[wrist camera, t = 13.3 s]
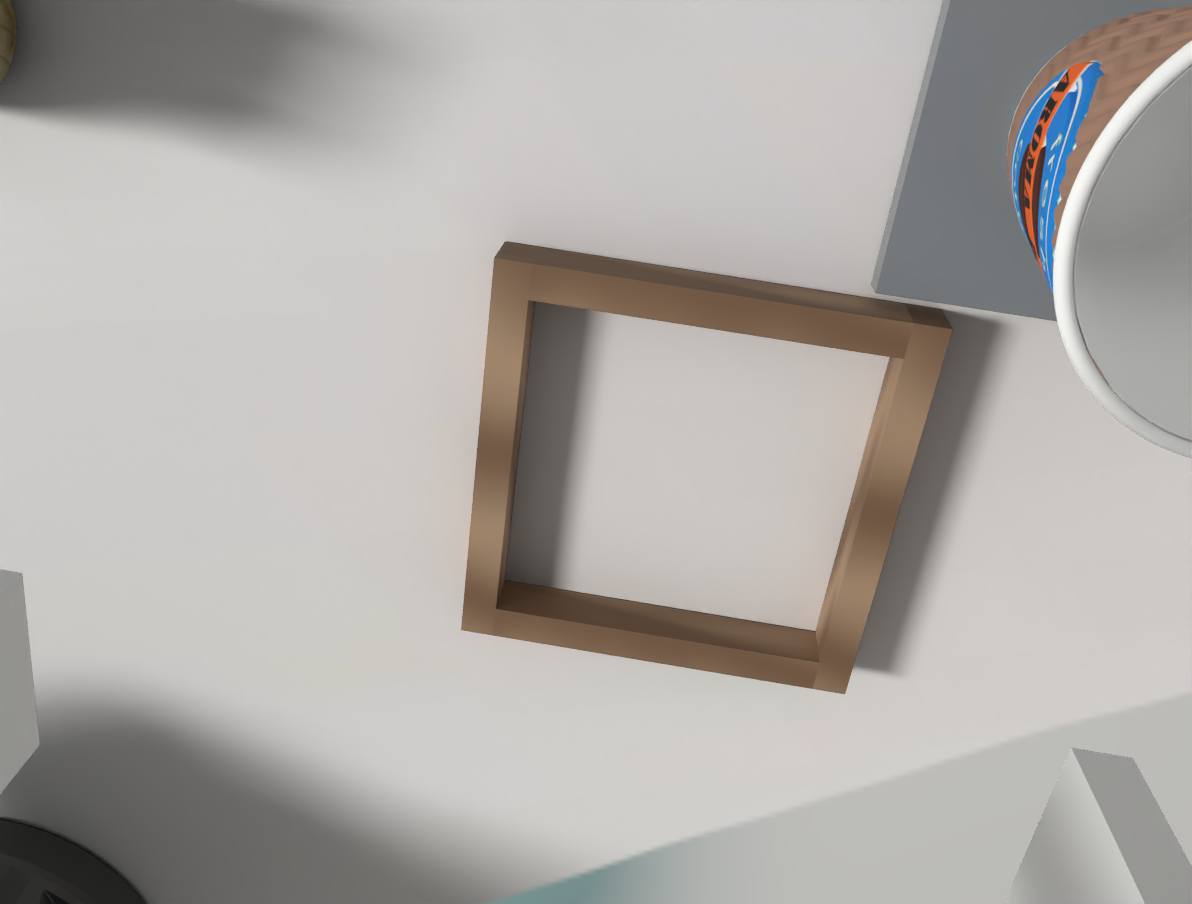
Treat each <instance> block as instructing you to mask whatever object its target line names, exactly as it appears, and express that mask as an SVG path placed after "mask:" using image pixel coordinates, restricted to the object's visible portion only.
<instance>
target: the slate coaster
mask: <svg viewBox="0 0 1192 904" xmlns="http://www.w3.org/2000/svg"><path fill="white" fill-rule="evenodd" d="M1190 5H1192V0H943V4H942V8H941V12H940V16H939V20H938V24H937V27H936V31H935V35H934V39H933V43H932V47H931V51H930V55H929V59H928V63H927V67H926V71H925V75H924V79H923V83H922V86H921V90H920V94H919V98H918V102H917V106H916V110H915V114H914V118H913V122H912V126H911V130H910V134H909V138H908V142H907V145H906V149H905V153H904V157H903V161H902V165H901V169H900V173H899V177H898V181H897V185H896V189H895V193H894V197H893V201H892V205H891V208H890V212H889V216H888V220H887V224H886V228H885V232H884V236H883V240H882V244H881V248H880V252H879V256H878V260H877V264H876V267H875V271H874V275H873V279H872V283H871V284H872V287H873V289H874V291H875V293H878V294H885V295H891V296H898V297H904V298H911V299H917V300H924V301H930V302H936V303H943V304H949V305H956V306H962V307H969V308H975V309H981V310H988V311H994V312H1001V313H1007V314H1014V315H1020V316H1027V317H1033V318H1039V319H1046V320H1052V321H1057V318H1056V312H1055V305H1054V296H1053V294H1052V292H1051V290H1050V288H1049V285H1048V283H1047V281H1046V279H1045V277H1044V275H1043V273H1042V271H1041V269H1040V266H1039V264H1038V262H1037V260H1036V258H1035V256H1034V254H1033V252H1032V250H1031V248H1030V245H1029V243H1028V241H1027V239H1026V237H1025V235H1024V232H1023V230H1022V228H1021V225H1020V223H1019V220H1018V217H1017V213H1016V210H1015V205H1014V202H1013V200H1012V197H1011V195H1010V184H1009V181H1008V179H1007V172H1008V167H1007V161H1006V157H1007V146H1008V136H1009V131H1010V127H1011V124H1012V120H1013V117H1014V114H1015V110H1016V108H1017V106H1018V104H1019V102H1020V100H1021V98H1022V96H1023V94H1024V92H1025V90H1026V88H1027V87H1028V86H1029V84H1030V83H1031V82H1032V80H1033V79H1034V78H1035V76H1036V75H1037V74H1038V72H1039V71H1040V69H1041V68H1042V67H1043V66H1044V65H1045V64H1046V63H1047V62H1048V61H1049V60H1050V59H1051V58H1052V57H1053V56H1055V55H1056V54H1057V53H1058V52H1059V51H1060V50H1061V49H1062V48H1064V47H1065V46H1067V45H1068V44H1070V43H1071V42H1073V41H1074V40H1076V39H1077V38H1078V37H1080V36H1081V35H1083V34H1085V33H1088V32H1089V31H1090V30H1092V29H1094V28H1096V27H1099V26H1102V25H1105V24H1106V23H1107V22H1109V21H1111V20H1113V19H1117V18H1126V17H1127V16H1128V15H1129V14H1132V13H1137V12H1147V11H1149V10H1155V9H1168V8H1175V7H1182V6H1190Z"/></svg>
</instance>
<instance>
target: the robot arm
mask: <svg viewBox="0 0 1192 904" xmlns="http://www.w3.org/2000/svg"><path fill="white" fill-rule="evenodd" d="M39 745H40V742H39V733H38V723H37V713H36V703H35V694H34V684H33V674H32V664H31V654H30V645H29V635H28V625H27V615H26V606H25V596H24V586H23V576H22V573H18V572H12V571H6V570H0V794H1V793H2V791H3V790H4V789H5V788H6V786H7V785H8V784H9V783H10V781H11V780H12V779H13V778H14V776H15V775H16V774H17V773H18V772H19V770H20V769H21V768H22V767H23V765H24V764H25V763H26V762H27V760H28V759H29V758H30V757H31V755H32V754H33V753H34V752H35V750H36V749H37V748H38V747H39ZM0 904H144V902H143V901H142V900H141V898H140V897H139V896H138V895H137V894H136V892H135V891H134V890H133V889H132V888H131V887H130V886H129V885H128V884H127V883H126V882H125V881H124V880H123V879H122V878H121V877H120V876H119V875H118V874H116V873H115V872H114V871H113V870H112V869H110V868H109V867H108V866H106V865H105V864H104V863H103V862H101V861H100V860H98V859H97V858H95V857H94V856H92V855H91V854H89V853H87V852H86V851H84V850H82V849H81V848H79V847H77V846H75V845H73V844H71V843H69V842H67V841H65V840H63V839H61V838H59V837H56V836H54V835H52V834H49V833H47V832H44V831H41V830H38V829H35V828H32V827H29V826H26V825H22V824H18V823H14V822H9V821H4V820H0ZM1004 904H1192V866H1191V864H1190V863H1189V861H1188V859H1187V857H1186V855H1185V853H1184V852H1183V850H1182V848H1181V846H1180V844H1179V842H1178V840H1177V838H1176V837H1175V835H1174V833H1173V831H1172V830H1171V827H1170V826H1169V824H1168V822H1167V820H1166V818H1165V816H1164V814H1163V813H1162V811H1161V809H1160V807H1159V805H1158V804H1157V801H1156V800H1155V798H1154V796H1153V794H1152V792H1151V790H1150V789H1149V787H1148V785H1147V783H1146V781H1145V779H1144V778H1143V776H1142V774H1141V772H1140V770H1139V768H1138V767H1137V765H1136V763H1135V761H1134V759H1133V758H1130V757H1124V756H1117V755H1111V754H1106V753H1099V752H1093V751H1088V750H1081V749H1076V748H1071V750H1070V752H1069V754H1068V757H1067V759H1066V761H1065V764H1064V766H1063V768H1062V771H1061V773H1060V775H1059V777H1058V780H1057V782H1056V785H1055V787H1054V789H1053V791H1052V794H1051V796H1050V798H1049V800H1048V803H1047V805H1046V807H1045V810H1044V812H1043V814H1042V817H1041V819H1040V821H1039V824H1038V826H1037V828H1036V831H1035V833H1034V835H1033V838H1032V840H1031V842H1030V844H1029V847H1028V849H1027V851H1026V854H1025V856H1024V858H1023V860H1022V863H1021V865H1020V867H1019V870H1018V872H1017V874H1016V877H1015V879H1014V881H1013V884H1012V886H1011V888H1010V890H1009V893H1008V895H1007V897H1006V900H1005V902H1004Z"/></svg>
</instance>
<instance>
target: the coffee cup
mask: <svg viewBox="0 0 1192 904" xmlns="http://www.w3.org/2000/svg"><path fill="white" fill-rule="evenodd" d="M1006 161H1007V167H1008V172H1007V179H1008V181H1009V184H1010V195H1011V197H1012V200H1013V202H1014V205H1015V210H1016V213H1017V217H1018V220H1019V223H1020V225H1021V228H1022V230H1023V232H1024V235H1025V237H1026V239H1027V241H1028V243H1029V245H1030V248H1031V250H1032V252H1033V254H1034V256H1035V258H1036V260H1037V262H1038V264H1039V266H1040V269H1041V271H1042V273H1043V275H1044V277H1045V279H1046V281H1047V283H1048V285H1049V288H1050V290H1051V292H1052V294H1053V296H1054V305H1055V312H1056V318H1057V323H1058V327H1059V331H1060V334H1061V338H1062V341H1063V344H1064V347H1065V349H1066V351H1067V354H1068V356H1069V359H1070V361H1071V363H1072V365H1073V367H1074V368H1075V370H1076V372H1077V374H1078V375H1079V377H1080V379H1081V380H1082V382H1083V383H1084V385H1085V386H1086V387H1087V389H1088V390H1089V392H1090V393H1091V394H1092V395H1093V396H1094V398H1095V399H1096V400H1097V401H1098V402H1099V403H1100V404H1101V405H1102V406H1103V408H1104V409H1105V410H1106V411H1107V412H1109V413H1110V414H1111V415H1112V416H1113V417H1114V418H1115V419H1116V420H1118V421H1119V422H1120V423H1122V424H1123V425H1124V426H1125V427H1127V428H1128V429H1130V430H1131V431H1133V432H1134V433H1136V434H1137V435H1139V436H1141V437H1142V438H1144V439H1146V440H1148V441H1150V442H1152V443H1154V444H1156V445H1158V446H1160V447H1162V448H1164V449H1167V450H1169V451H1172V452H1174V453H1177V454H1180V455H1183V456H1186V457H1190V458H1192V5H1190V6H1182V7H1175V8H1168V9H1155V10H1149V11H1147V12H1137V13H1132V14H1129V15H1128V16H1127V17H1126V18H1117V19H1113V20H1111V21H1109V22H1107V23H1106V24H1105V25H1102V26H1099V27H1096V28H1094V29H1092V30H1090V31H1089V32H1088V33H1085V34H1083V35H1081V36H1080V37H1078V38H1077V39H1076V40H1074V41H1073V42H1071V43H1070V44H1068V45H1067V46H1065V47H1064V48H1062V49H1061V50H1060V51H1059V52H1058V53H1057V54H1056V55H1055V56H1053V57H1052V58H1051V59H1050V60H1049V61H1048V62H1047V63H1046V64H1045V65H1044V66H1043V67H1042V68H1041V69H1040V71H1039V72H1038V74H1037V75H1036V76H1035V78H1034V79H1033V80H1032V82H1031V83H1030V84H1029V86H1028V87H1027V88H1026V90H1025V92H1024V94H1023V96H1022V98H1021V100H1020V102H1019V104H1018V106H1017V108H1016V110H1015V114H1014V117H1013V120H1012V124H1011V127H1010V131H1009V136H1008V146H1007V157H1006ZM1109 385H1110V386H1111V387H1112V388H1113V389H1114V390H1115V391H1116V392H1117V393H1118V394H1119V395H1120V396H1121V397H1122V398H1123V399H1124V400H1125V401H1126V402H1127V403H1128V404H1129V405H1130V406H1131V407H1132V408H1133V409H1132V408H1131V407H1130V406H1129V405H1128V404H1127V403H1125V402H1124V401H1123V400H1122V399H1121V398H1120V397H1119V396H1118V395H1117V394H1116V393H1115V392H1114V391H1113V389H1112V388H1111V387H1110V386H1109ZM1143 416H1144V417H1143ZM1146 418H1147V419H1148V420H1147V419H1146ZM1149 420H1150V421H1149ZM1151 421H1152V422H1153V423H1152V422H1151ZM1154 423H1155V424H1154ZM1157 425H1158V426H1157ZM1159 426H1160V427H1159Z"/></svg>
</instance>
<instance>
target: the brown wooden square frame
mask: <svg viewBox="0 0 1192 904" xmlns="http://www.w3.org/2000/svg"><path fill="white" fill-rule="evenodd" d="M535 301H537V302H544V303H550V304H557V305H563V306H569V307H576V308H582V309H588V310H595V311H601V312H608V313H614V314H620V315H627V316H633V317H639V318H646V319H652V320H658V321H665V322H671V323H678V324H684V325H690V326H697V327H703V328H709V329H716V330H722V331H728V332H735V333H741V334H748V335H754V336H760V337H767V338H773V339H779V340H786V341H792V342H799V343H805V344H811V345H818V346H824V347H830V348H837V349H843V350H849V351H856V352H862V353H869V354H875V355H881V356H888V357H890V359H889V363H888V366H887V370H886V374H885V377H884V381H883V385H882V388H881V392H880V396H879V399H878V403H877V407H876V410H875V414H874V418H873V422H872V425H871V429H870V433H869V436H868V440H867V444H866V447H865V451H864V455H863V458H862V462H861V466H860V470H859V473H858V477H857V481H856V484H855V488H854V492H853V495H852V499H851V503H850V506H849V510H848V514H847V518H846V521H845V525H844V529H843V532H842V536H841V540H840V543H839V547H838V551H837V554H836V558H835V562H834V566H833V569H832V573H831V577H830V580H829V584H828V588H827V591H826V595H825V599H824V602H823V606H822V610H821V613H820V617H819V621H818V625H817V628H816V632H813V631H807V630H801V629H795V628H789V627H783V626H777V625H771V624H765V623H759V622H753V621H747V620H741V619H735V618H729V617H722V616H716V615H710V614H704V613H698V612H692V611H686V610H680V609H674V608H668V607H662V606H656V605H650V604H644V603H638V602H632V601H626V600H620V599H614V598H608V597H602V596H596V595H590V594H583V593H577V592H571V591H565V590H559V589H553V588H547V587H541V586H535V585H529V584H523V583H517V582H511V581H505V574H506V565H507V555H508V546H509V537H510V528H511V519H512V509H513V500H514V491H515V482H516V473H517V463H518V454H519V445H520V436H521V427H522V417H523V408H524V399H525V390H526V381H527V371H528V362H529V353H530V344H531V335H532V325H533V316H534V307H535ZM952 330H953V329H952V327H951V326H950V324H949V322H948V320H947V318H946V317H945V315H944V313H943V311H942V310H941V309H936V308H930V307H923V306H917V305H910V304H904V303H898V302H891V301H885V300H878V299H872V298H865V297H859V296H853V295H846V294H840V293H833V292H827V291H820V290H814V289H807V288H801V287H795V286H788V285H782V284H775V283H769V282H762V281H756V280H750V279H743V278H737V277H730V276H724V275H717V274H711V273H705V272H698V271H692V270H685V269H679V268H672V267H666V266H659V265H653V264H647V263H640V262H634V261H627V260H621V259H614V258H608V257H602V256H595V255H589V254H582V253H576V252H569V251H563V250H557V249H550V248H544V247H537V246H531V245H524V244H518V243H512V242H504V244H503V245H502V247H501V249H500V250H499V252H498V253H497V255H496V256H495V258H494V268H493V279H492V290H491V302H490V313H489V324H488V335H487V347H486V358H485V369H484V380H483V391H482V403H481V414H480V425H479V436H478V448H477V459H476V470H475V481H474V492H473V504H472V515H471V526H470V537H469V549H468V560H467V571H466V582H465V593H464V605H463V616H462V627H461V630H464V631H470V632H476V633H482V634H488V635H494V636H500V637H506V638H512V639H518V640H524V641H530V642H536V643H542V644H548V645H554V646H560V647H566V648H572V649H578V650H584V651H590V652H596V653H602V654H608V655H614V656H620V657H625V658H631V659H637V660H643V661H649V662H655V663H661V664H667V665H673V666H679V667H685V668H691V669H697V670H703V671H709V672H715V673H721V674H727V675H733V676H739V677H745V678H751V679H757V680H763V681H769V682H775V683H781V684H787V685H793V686H799V687H805V688H811V689H817V690H823V691H829V692H835V693H841V694H845V692H846V689H847V685H848V682H849V679H850V675H851V672H852V668H853V665H854V662H855V658H856V655H857V652H858V648H859V645H860V641H861V638H862V635H863V631H864V628H865V624H866V621H867V618H868V614H869V611H870V608H871V604H872V601H873V597H874V594H875V591H876V587H877V584H878V580H879V577H880V574H881V570H882V567H883V564H884V560H885V557H886V553H887V550H888V547H889V543H890V540H891V536H892V533H893V530H894V526H895V523H896V520H897V516H898V513H899V509H900V506H901V503H902V499H903V496H904V492H905V489H906V486H907V482H908V479H909V476H910V472H911V469H912V465H913V462H914V459H915V455H916V452H917V448H918V445H919V442H920V438H921V435H922V432H923V428H924V425H925V421H926V418H927V415H928V411H929V408H930V404H931V401H932V398H933V394H934V391H935V388H936V384H937V381H938V377H939V374H940V371H941V367H942V364H943V360H944V357H945V354H946V350H947V347H948V344H949V340H950V337H951V333H952Z"/></svg>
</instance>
